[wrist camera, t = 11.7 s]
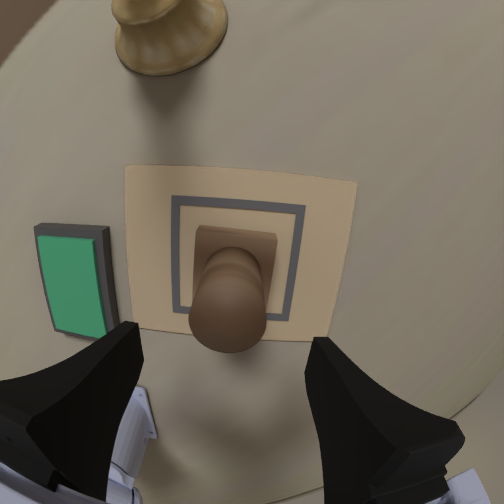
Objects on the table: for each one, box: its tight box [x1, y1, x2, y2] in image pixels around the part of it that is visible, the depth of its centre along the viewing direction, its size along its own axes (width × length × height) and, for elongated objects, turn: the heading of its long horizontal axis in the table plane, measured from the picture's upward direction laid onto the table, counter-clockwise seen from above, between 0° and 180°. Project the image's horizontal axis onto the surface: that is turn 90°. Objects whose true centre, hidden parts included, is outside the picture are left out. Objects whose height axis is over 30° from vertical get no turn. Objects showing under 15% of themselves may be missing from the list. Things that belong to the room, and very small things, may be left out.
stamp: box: [188, 225, 278, 353], centre depth 17 cm, size 5×5×8 cm
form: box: [125, 165, 358, 341], centre depth 20 cm, size 13×16×1 cm
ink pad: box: [34, 223, 120, 341], centre depth 20 cm, size 10×7×2 cm
